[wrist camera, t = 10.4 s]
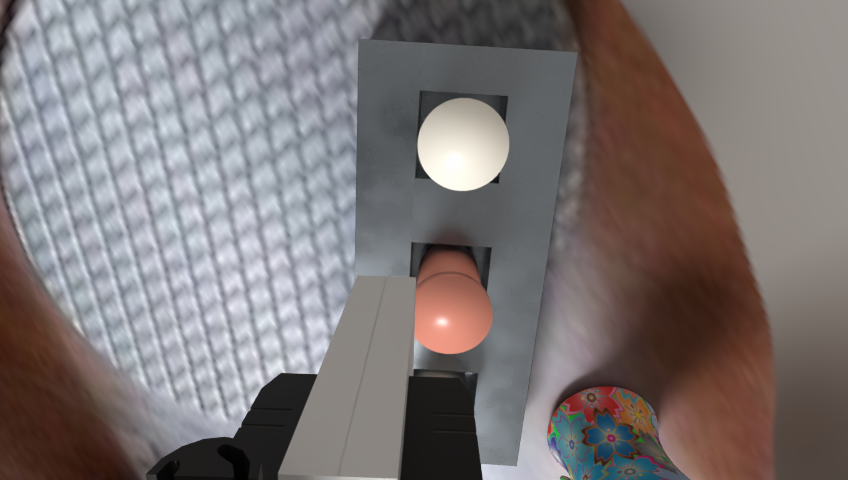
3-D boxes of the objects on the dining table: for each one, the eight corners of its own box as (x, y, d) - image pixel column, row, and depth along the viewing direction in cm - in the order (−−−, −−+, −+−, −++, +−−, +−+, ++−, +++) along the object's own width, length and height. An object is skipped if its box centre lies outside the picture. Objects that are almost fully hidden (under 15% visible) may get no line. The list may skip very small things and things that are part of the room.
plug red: (412, 299, 33) (405, 351, 26) (415, 235, 32) (409, 274, 25) (478, 303, 33) (488, 356, 26) (485, 240, 31) (496, 279, 25)
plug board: (360, 417, 38) (351, 453, 35) (369, 45, 30) (358, 38, 26) (509, 428, 38) (516, 466, 34) (560, 56, 30) (577, 52, 26)
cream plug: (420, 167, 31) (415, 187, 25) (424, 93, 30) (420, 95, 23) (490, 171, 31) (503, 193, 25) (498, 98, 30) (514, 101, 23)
